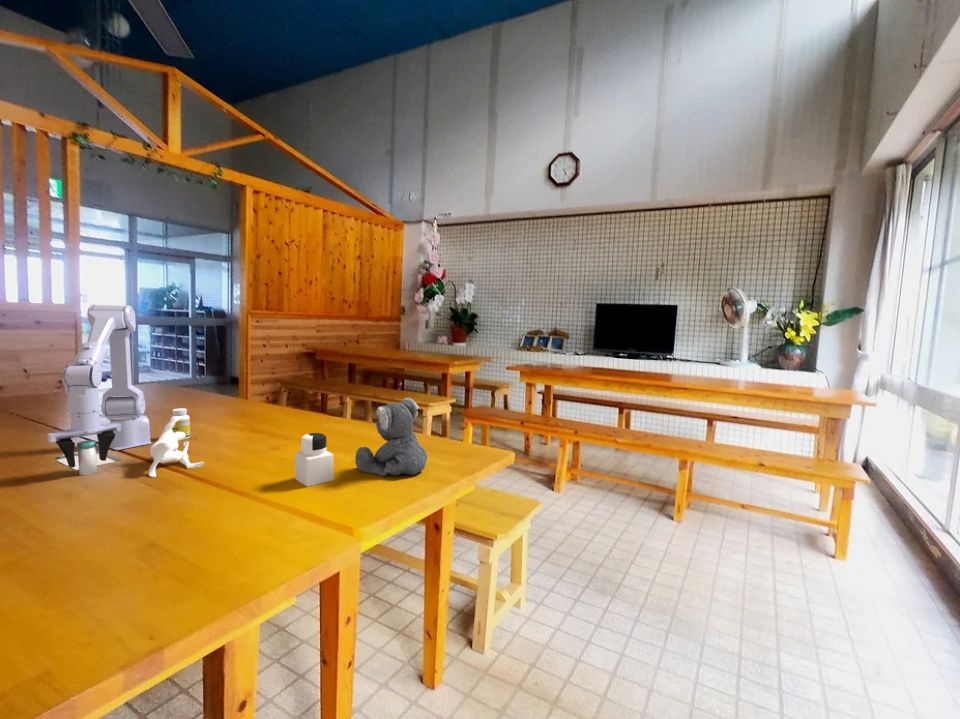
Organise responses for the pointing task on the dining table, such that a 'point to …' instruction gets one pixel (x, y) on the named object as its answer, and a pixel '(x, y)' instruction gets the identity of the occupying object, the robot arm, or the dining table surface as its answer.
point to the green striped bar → (65, 457)
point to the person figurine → (170, 448)
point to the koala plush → (394, 442)
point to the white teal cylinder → (87, 457)
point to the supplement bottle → (182, 422)
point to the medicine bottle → (313, 461)
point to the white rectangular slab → (99, 462)
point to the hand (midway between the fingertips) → (87, 463)
